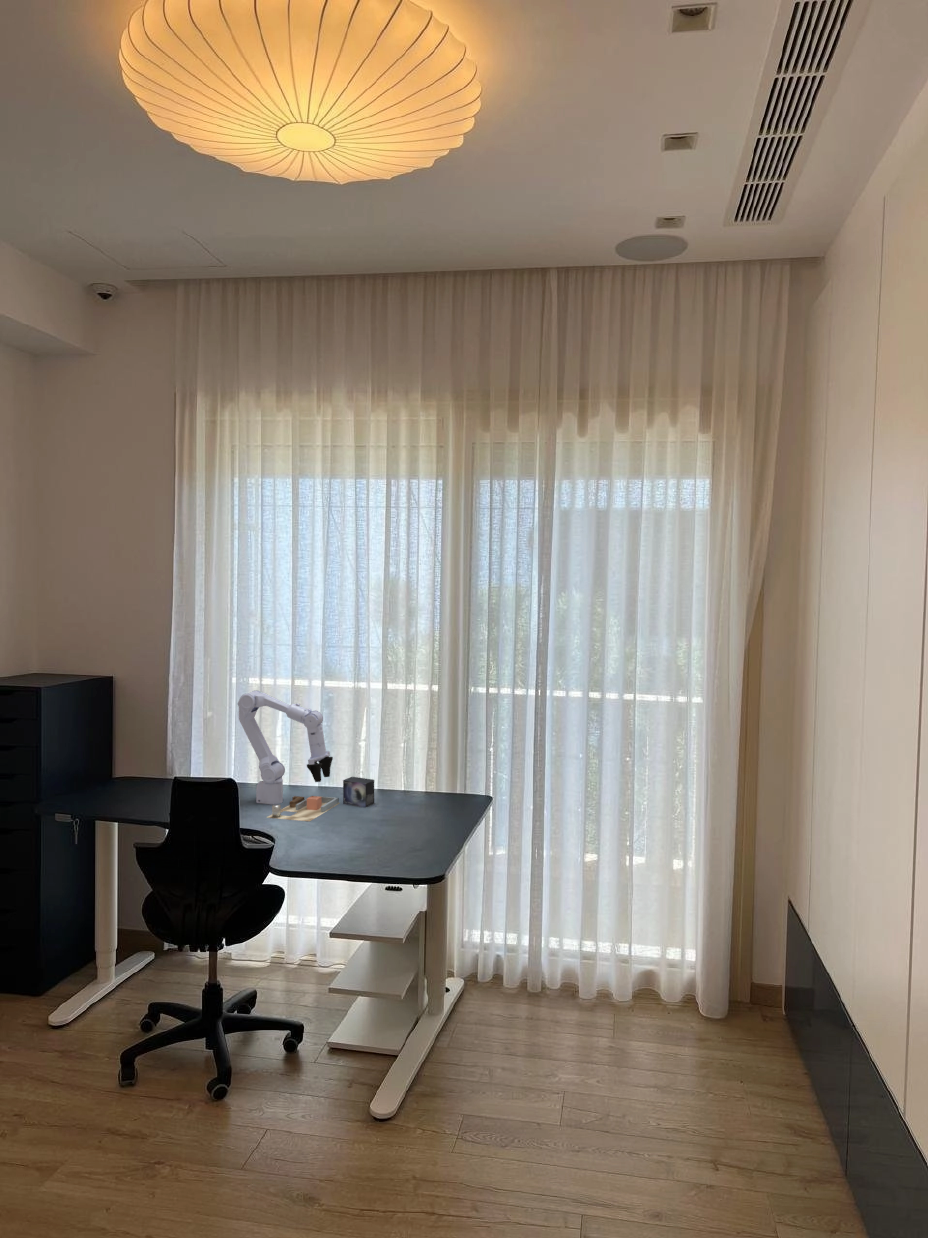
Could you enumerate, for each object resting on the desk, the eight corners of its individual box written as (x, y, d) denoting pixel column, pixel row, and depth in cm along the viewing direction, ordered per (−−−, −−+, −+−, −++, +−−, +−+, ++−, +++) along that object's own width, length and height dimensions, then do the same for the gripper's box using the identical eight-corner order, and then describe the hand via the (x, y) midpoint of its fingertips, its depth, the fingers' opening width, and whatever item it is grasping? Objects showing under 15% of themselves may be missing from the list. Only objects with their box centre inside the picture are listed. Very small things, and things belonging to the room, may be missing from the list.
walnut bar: (284, 806, 334) (284, 801, 334) (294, 801, 342) (294, 796, 342) (294, 807, 333) (294, 802, 333) (304, 802, 341) (304, 797, 341)
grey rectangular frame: (295, 810, 330) (295, 804, 330) (312, 801, 343) (312, 795, 343) (323, 812, 327) (323, 807, 327) (338, 803, 340) (338, 798, 340)
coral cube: (306, 809, 331) (306, 798, 331) (311, 806, 335) (311, 796, 334) (316, 810, 330) (316, 799, 329) (321, 807, 334) (321, 796, 333)
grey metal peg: (270, 817, 320) (270, 806, 320) (274, 815, 323) (274, 804, 323) (278, 818, 319) (278, 807, 319) (282, 815, 322) (282, 804, 322)
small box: (342, 807, 339) (341, 779, 338) (352, 803, 344) (351, 776, 344) (365, 810, 334) (365, 783, 333) (375, 806, 340) (375, 779, 339)
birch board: (266, 820, 320) (266, 817, 320) (299, 802, 345) (299, 799, 345) (309, 824, 315) (309, 821, 315) (340, 806, 340) (340, 803, 340)
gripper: (318, 746, 329) (323, 783, 329) (334, 738, 343) (340, 773, 343) (300, 748, 331) (306, 784, 332) (318, 740, 345) (323, 775, 345)
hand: (322, 779), depth 338 cm, fingers open, 7 cm apart
